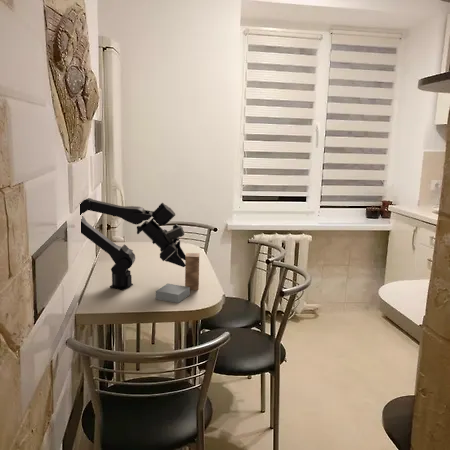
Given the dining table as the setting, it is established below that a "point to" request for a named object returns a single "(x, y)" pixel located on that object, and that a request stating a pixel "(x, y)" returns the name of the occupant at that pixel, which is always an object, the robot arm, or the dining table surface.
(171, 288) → the slate plinth
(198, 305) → the dining table surface
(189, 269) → the walnut pillar
